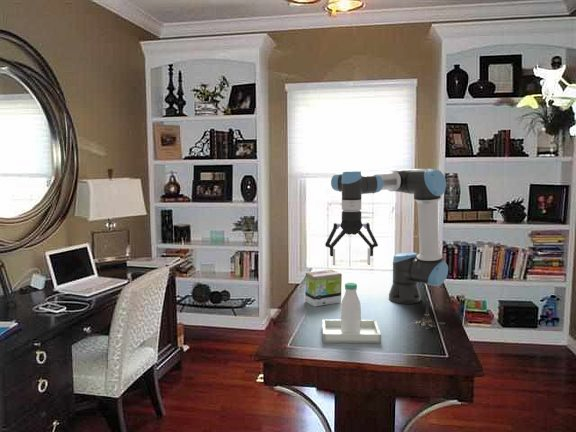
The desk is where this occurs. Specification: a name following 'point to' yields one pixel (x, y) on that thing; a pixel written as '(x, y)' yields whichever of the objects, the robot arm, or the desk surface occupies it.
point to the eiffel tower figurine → (427, 319)
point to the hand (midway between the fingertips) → (351, 264)
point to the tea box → (323, 287)
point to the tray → (334, 334)
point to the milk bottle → (350, 310)
